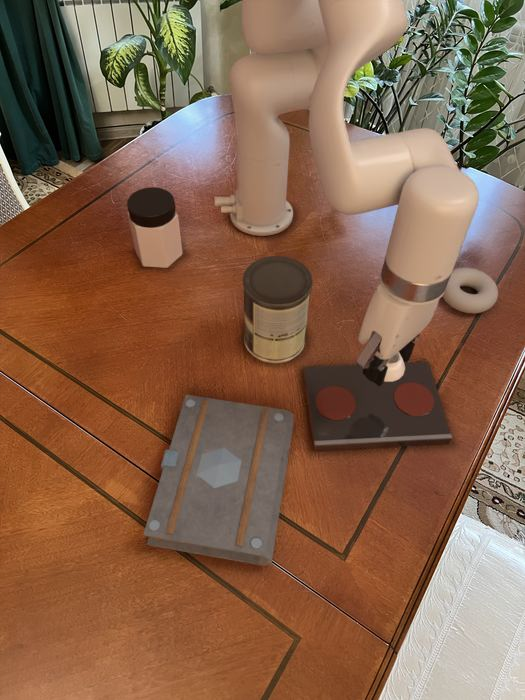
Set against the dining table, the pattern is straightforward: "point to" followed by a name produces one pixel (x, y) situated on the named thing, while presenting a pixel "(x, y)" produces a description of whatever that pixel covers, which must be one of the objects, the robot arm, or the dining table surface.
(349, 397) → the hob
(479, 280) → the donut
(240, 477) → the book
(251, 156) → the robot arm
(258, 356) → the coffee can
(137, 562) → the dining table surface
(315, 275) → the dining table surface
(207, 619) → the dining table surface
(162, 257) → the jar
